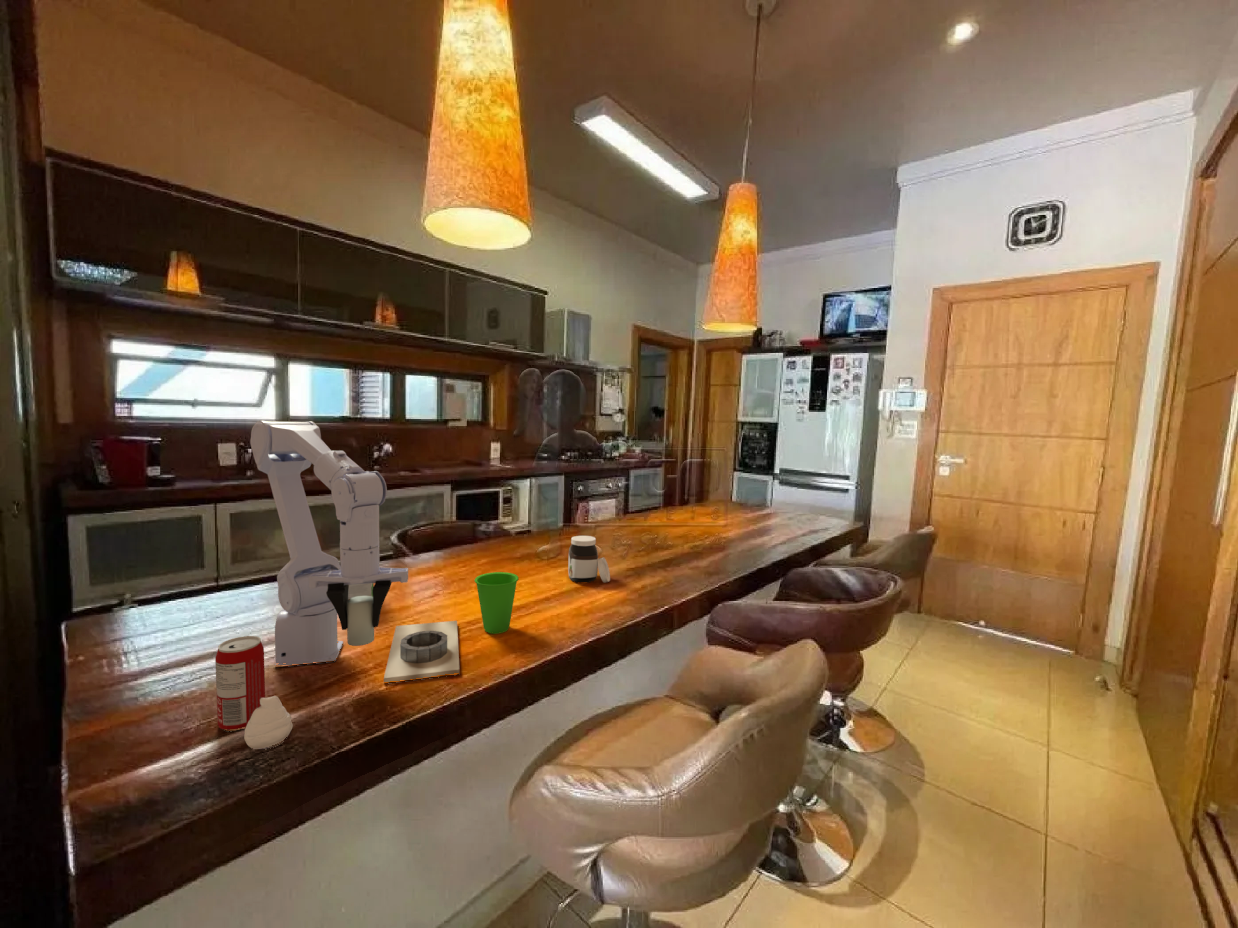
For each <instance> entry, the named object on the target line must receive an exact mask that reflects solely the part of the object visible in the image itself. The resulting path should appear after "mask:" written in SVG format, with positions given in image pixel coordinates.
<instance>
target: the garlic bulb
mask: <svg viewBox="0 0 1238 928" xmlns="http://www.w3.org/2000/svg"><path fill="white" fill-rule="evenodd" d="M260 704H261V706H260V707H259V708H257V709H255V710H254V712H253V714H252V716H251V718H250V720H249V721H248V724H247V726H246V728H245V729H244V735H243V739H244V741H245V743H246V745H247V746H248V747H249V748H251V749H252V748H265V747H269V746H272V745H275V744H277V743H279V742H281V741H283V740H284V739H285V738H286V737H287V738H288V736H289V735H290V733H291V731H292V729H293V727H294V725H293V723H292V715H291V714H290V713H289V712H288V711H287V708H286V707H285V706H283V704H282V701H281V700H280V698H279V697H278V696H277V695H273V696H270V697H269V696H268V697H265V698H261V699H260ZM287 738H286V739H287ZM283 742H284V741H283Z"/></svg>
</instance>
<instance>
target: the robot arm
mask: <svg viewBox="0 0 1238 928" xmlns="http://www.w3.org/2000/svg"><path fill="white" fill-rule="evenodd" d="M249 442H250V447H251V451H252V454H253V459H254V462H255V464H256V467H257V470H258V471H260V472H262V473H263V474H266V475H267V478H268V481H269V484H270V488H271V492H272V497H273V499H274V503H275V507H276V511H277V514H278V517H279V521H280V525H281V529H282V531H283V536H284V540H285V543H286V547H287V550H288V554H289V558H290V560H289V561H288V562H287V563H286V564H285V565H284V566H283V567H282V568H281V569H280V571H279V572H278V574H277V575H276V581H277V587H278V588H277V596H278V601H279V604H280V606H281V608H282V609H283V610H280V611H279V612H278V614H277V616H276V619H275V626H274V647H275V649H274V650H275V651H274V653H275V657H274V658H275V659H274V660H275V663H279V664H278V665H292V664H303V663H313V662H326V661H334V660H335V661H337V659H336V658H338V657H339V654H340V652H339V651H341V650H340V649H342V647H343V645H344V641H343V640H338V619H339V622H340V627H341V631H347V600H348V590H349V585H352V584H368V583H373V585H374V587H373V603H374V613H373V627H374V628H378V627H379V624H380V618H381V611H382V608H383V604H384V602H385V600H386V597H387V595H388V593H389V591H390V588H391V585H392V583H398V582H399V583H400V584H401V583H402V584H403V583H405V584H406V583H408V580H409V568H408V567H405V568H403V567H402V568H401V567H380V506H382V505H383V504H384V503H385V502H386V500H387V499H386V498H387V493H388V491H387V490H388V487H387V483H386V481H385V478H384V477H383V476H382V474H381V473H380V472H379V471H377V470H374V471H369V470H366V471H365V470H364V469H363V468H362V467H361V466H360V465H358V464H357V463H356V462H355V461H354V460H352V459H351V458H350V457H349V456H348V455H347V453H346V452H345V451H344V450H332V449H330V447H329V446H328V445H327V444H326V443H325V442H324V440H323V439H322V435H321V428H320V427H319V426H318V425H317V424H316V423H315V422H314V421H265V420H257V421H256V422H255V423H254V425H253V426H252V428H251V432H250V441H249ZM311 465H313V473H314V475H315V477H316V478H318V480H320V482H322V483H323V484H324V485H325V487H327V488H328V489H329V490H330V491H331V498H332V503H333V504H334V507H335V517H336V519H337V520H338V521H339V531H340V532H339V539H340V540H339V553H340V554H339V555H340V561H339V559H338V558H337V557H335V556H333V555H330V554H329V553H326V552H324V551H322V547H321V545H320V541H319V536H318V534H317V530H316V527H315V523H314V519H313V516H312V513H311V509H310V506H309V502H308V498H307V496H306V495H307V494H306V492H305V488H304V485H303V482H302V477H301V473H302V472H304V471H305V470H307V469H309V468H310V467H311ZM340 562H341V564H340ZM337 642H338V643H337ZM342 644H343V645H342ZM335 661H334V662H335ZM275 663H274V665H276V664H275ZM283 663H286V664H283ZM326 663H327V662H326Z"/></svg>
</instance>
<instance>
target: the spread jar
mask: <svg viewBox="0 0 1238 928" xmlns="http://www.w3.org/2000/svg"><path fill="white" fill-rule="evenodd" d="M570 540H571V544H570V546H569V549H568V568H567V571H568V573H567V574H568V578H569V579H570V581H572V582H574V581H575V582H574V583H578V582H587V583H591V581H592V582H594V581H596V580H597V577H598V574H599V576H600V579H601V581H602V583H608V582H610V581H611V574H610V573H611V572H610V568H609V565H608V564H609V563H608V562H607V560H606V558H605V557H604V556H603V557H599V555H598V548H597V546H596V543H597V541H596V540H597V539H596V537H595V536H591V535H576V536H572V537H571V539H570Z"/></svg>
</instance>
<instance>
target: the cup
mask: <svg viewBox="0 0 1238 928" xmlns="http://www.w3.org/2000/svg"><path fill="white" fill-rule="evenodd" d="M518 581H519V576H518V575H517V574H515V573H512V572H506V571H504V572H503V571H496V572H494V571H493V572H487V573H484V574H483V573H482V574H480V575H477V576H476V577H475V578H474V582H475V584H476V589H477V594H478V600H479V608H480V613H481V618H482V624H483V625H482V626H483V629H484V631H485V632H486V633H487V632H488V634H491V635H493V634H495V635H496V634H498V635H499V634H504V633H505V632H507V631H508V630H509V628H510V625H511V619H512V612H513V607H514V600H515V594H516V588H517V582H518Z"/></svg>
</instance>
